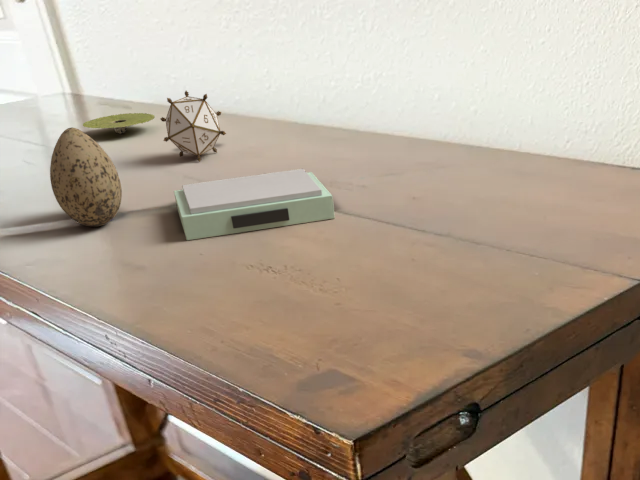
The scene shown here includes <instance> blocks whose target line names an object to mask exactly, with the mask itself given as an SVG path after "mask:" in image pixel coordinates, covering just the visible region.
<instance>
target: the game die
mask: <svg viewBox="0 0 640 480" xmlns="http://www.w3.org/2000/svg"><path fill="white" fill-rule="evenodd" d="M189 93H190V92H188V90H185V91H184V97H182V98H179V99H176V100H174V101H173V100H172V99H171V97H166V100H167V101H166V102H168V104H170V105H169V108H168V111H167V114H166V117H163V116H161V118H159V120H160V121H161V122H163V123H164V122H165V126H166V133H167V136H166V137H163V140H162V141H163V142H166V143H167V142H169V141H170V142H171V143H172V144H174V146H176V148H177V149H179V153H178V155H179V157H180V158H181V157H184V153H185V154H188V155H193V156H196V160H197V161H198V162H199V163H201V161H202V157H201V156H202V155H203V154H206V153H207V152H209V151H211V150H212V151H213V153H216V154H218V149H217V148H216V147H215V145H216V143H217V141H218V140H219V137H220V135H222V136H226V135H227V133H226V132H225V130H221V127H220V123H219V118H218V117H220V116H221V114H222V111H220V110H218V111H216V112H215V110H214V109H213V108H212V107H211V106H210V104H209V103H208V102H207V101H206V100H207V99H208V93H205V94H203V96H202V98H200V97H194V96H189V95H190V94H189Z"/></svg>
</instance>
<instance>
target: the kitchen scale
mask: <svg viewBox="0 0 640 480" xmlns="http://www.w3.org/2000/svg"><path fill="white" fill-rule="evenodd" d="M173 195H174V198H175V204H176V208H177V213H178V216H179V219H180V223H181V226H182V229H183V232H184V236H185V239H186V241H194V240H200V239H207V238H215V237H221V236H226V235H233V234H240V233H246V232H253V231H259V230H265V229H272V228H274V229H275V228H280V227H288V226H294V225H299V224H300V225H301V224H307V223H314V222H319V221H327V220H332V219H335V218H336V217H335V216H336V215H335V206H334V198H333V194H332V193H331V192H330V191H329V190H328V189H327V188H326V187H325V186H324V184H323V183H322V182H321V181H320V180H319V179H318V178H317V177H316V175H315V174H314V173H313V172H312V171H308V172H307V171H306V170H305V169H304V168H298V169H289V170H281V171H275V172H269V173H261V174H253V175H246V176H239V177H232V178H224V179H217V180H216V179H215V180H209V181H201V182H195V183H194V182H193V183H189V184H188V183H187V184H182V185H181V189H177V190H173Z"/></svg>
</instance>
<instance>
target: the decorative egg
mask: <svg viewBox="0 0 640 480" xmlns="http://www.w3.org/2000/svg"><path fill="white" fill-rule="evenodd" d="M49 178H50V185H51V189H52V193H53V195H54V198H55V200H56V202H57V203H58V206H59V207H60V208H61V210H62V211H63V212H64V214H66V216H68V218H70V219H71V220H73V221H74V222H76V223H78V224H80V225H83V226H84V227H85V226H86V227H90V228H91V227H93V228H94V227H95V228H98V227H102V226H104V225H107V224H108V223H109V222H110V221H112V220H113V219H114V218H115V217H116V215H117V214H118V212H119V209H120V207H121V203H122V197H123V190H122V189H123V188H122V183H121V180H120V175H119V173H118V170H117V168H116V166H115V165H114V163H113V161H112V159H111V157H110V156H109V155H108V153H107V152H106V151H105V150H104V149H103V148H102V146H101V145H100V144H99V143H98V142H97V141H96V140H94V138H93V137H91V136H89V135H88V134H87V133H85V132H84V131H82V130H81V129H79V128H77V127H67V128H66V129H65V130H63V131H62V133H61V134H60V136H59V138H58V139H57V140H56V143H55V145H54V147H53V151H52V154H51V158H50V165H49Z"/></svg>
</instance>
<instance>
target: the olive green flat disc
mask: <svg viewBox="0 0 640 480" xmlns="http://www.w3.org/2000/svg"><path fill="white" fill-rule="evenodd" d="M154 119H155V114H151V113H146V112H139V113H138V112H137V113H136V112H134V113H131V112H127V113H120V114H111V115H106V116H102V117H101V116H100V117H97V118H94V119H90V120H88V121H85V122H83V123H82V126H83V127H84V128H88V129H89V128H90V129H114V132H115V133H116V134H120V135H122V134H124V133H126V131H127V130H128V127H131V126H135V125H139V124H143V123H148V122H151V121H153V120H154Z"/></svg>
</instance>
